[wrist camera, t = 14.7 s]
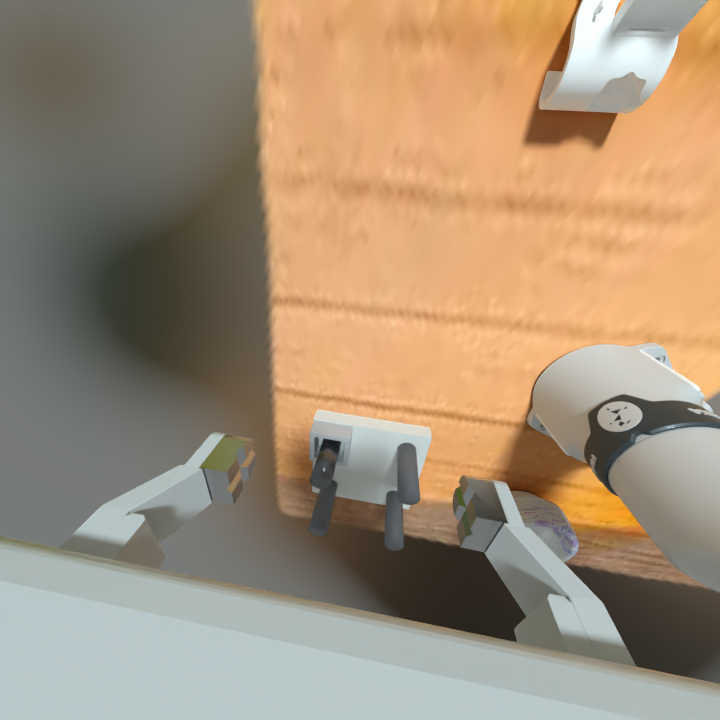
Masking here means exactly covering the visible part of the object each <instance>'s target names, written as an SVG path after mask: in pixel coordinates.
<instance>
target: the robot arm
mask: <svg viewBox="0 0 720 720" xmlns="http://www.w3.org/2000/svg"><path fill="white" fill-rule="evenodd" d="M703 399H705V396H704V394H703V393H702V392H701V391H700V388H699V387H698V386H697V385H696V384H694V383H693V382H691V381H690V380H688V379H686V378H685V377H683V376H682V375H680V374H679V373H677V372H676V371H674V370H673V367H672V365H671V362H670V360H669V358H668V355H667V353H666V350H665V349H664V348H663V347H662V346H660V345H659V344H657V343H645V344H639V345H634V346H621V345H612V344H601V345H593V346H588V347H584V348H581V349H578V350H575V351H573V352H570V353H568V354H566V355H564V356H563V357H561V358H559V359H558V360H556V361H555V362H554V363H552V364H551V365H550V366H549V367H548V368H547V369H546V370H545V371H544V372H543V373H542V374H541V376H540V377H539V379H538V380H537V382H536V384H535V387H534V390H533V406H532V409H531V411H530V413H529V415H528V417H527V423H528V424H529V425H530V426H531V427H532V428H534V429H536V430H538V431H539V432H541V433H543V434H545V435H547V436H549V437H551V438H553V439H554V440H555V442H556V443H557V444H558V446H559V447H560V448H561V449H562V451H563V452H564V453H565V454H566V455H567V456H572V457H574V458H575V459H577V460H579V461H582V462H584V463H587V464H588V465H589V466H590V468H591V469H592V470H593V473H594V474H595V476H596V477H597V478H598V479H599V481H600V482H602V483H603V484H604V485H605V486H606V488H607V489H608V490H609V491H610V492H612V493H613V494H614V495H616V496H618V497H619V498H620V499H621V500H622V502H623V503H624V504H625V506H626V507H627V508H628V509H629V511H630V512H631V513H632V515H633V516H634V517H635V518H636V520H637V521H638V522H639V524H640V525H641V526H642V527H643V529H644V530H645V531H646V533H647V534H648V535H649V536H650V538H651V539H652V540H653V541H654V543H655V544H656V545H657V547H658V548H659V549H660V550H661V552H662V553H663V554H664V556H665V557H666V558H667V559H668V560H669V561H670V562H671V563H672V564H673V565H674V566H675V567H677V568H678V569H679V570H681V571H682V572H683V573H685V574H686V575H688V576H689V577H691V578H693V579H694V580H696V581H698V582H700V583H701V584H703V585H705V586H707V587H709V588H711V589H713V590H715V591H717V592H720V417H719V416H718V415H715V414H713V410H712V409H711V407H710V406H709V405H708V404H707V403H706V402H704V401H703ZM253 447H254V443H253V440H252V439H248V438H243V437H238V436H233V435H228V434H223V433H217V432H214V433H213V434H211V435H210V436H209V437H208V438H207V439H206V441H205V442H204V443H203V444H202V445H201V447H200V448H199V449H198V450H197V451H196V452H195V453H194V455H193V456H192V457H191V458H190V460H189V461H188V462H187V463H186V464H185V465H179V466H178V467H175V468H173V469H172V470H170V471H168V472H166V473H164V474H162V475H160V476H158V477H156V478H154V479H153V480H150V481H148V482H147V483H145V484H143V485H141V486H139V487H137V488H135V489H133V490H131V491H129V492H127V493H125V494H123V495H121V496H119V497H118V498H116V499H114V500H112V501H110V502H108V503H106V504H104V505H102V506H101V507H100V508H99V509H98V510H97V511H96V512H95V513H94V514H93V515H92V516H91V517H90V518H89V519H88V520H87V521H86V522H85V523H84V524H83V525H82V526H81V527H80V528H79V529H78V530H77V531H76V532H75V533H74V534H73V535H72V536H71V537H69V538H68V539H67V541H66V542H64V543H63V544H62V545H61V546H60V547H59V548H55V547H50V546H45V545H41V544H36V543H31V542H26V541H21V540H16V539H11V538H6V537H1V536H0V720H720V684H717V683H712V682H706V681H702V680H697V679H692V678H687V677H682V676H678V675H673V674H668V673H663V672H658V671H653V670H649V669H644V668H639V667H636V665H635V663H634V662H633V660H632V658H631V656H630V654H629V652H628V650H627V648H626V646H625V644H624V643H623V641H622V639H621V637H620V635H619V633H618V631H617V629H616V627H615V626H614V624H613V622H612V620H611V618H610V616H609V614H608V612H607V610H606V608H605V606H604V605H603V603H602V602H601V601H600V600H599V599H598V598H597V597H596V596H595V595H594V594H593V592H592V591H591V590H590V589H589V588H588V587H587V586H586V585H585V584H584V583H583V582H582V581H581V580H580V579H579V578H578V577H577V576H576V575H575V574H574V573H573V572H572V571H571V570H570V569H569V568H568V567H567V566H566V565H565V564H564V563H563V562H562V561H561V560H560V559H559V558H558V557H557V556H556V555H555V554H554V552H553V551H552V550H551V549H550V548H549V547H548V546H547V545H546V544H545V543H544V542H543V541H542V540H541V539H540V538H539V537H538V536H537V535H536V534H535V533H534V532H533V531H532V530H531V529H530V528H528V527H525V526H524V523H523V521H522V518H521V516H520V513H519V511H518V509H517V506H516V504H515V501H514V499H513V497H512V494H511V492H510V489H509V487H508V485H507V484H506V483H505V482H502V481H496V480H490V479H485V478H479V477H473V476H466V475H463V476H462V477H461V478H460V481H459V483H460V487H458V488H456V490H455V492H454V495H453V510H454V515H455V517H456V518H457V519H458V520H459V524H458V526H457V532H458V537H459V542H460V547H462V548H467V549H471V550H476V551H481V552H485V555H486V556H487V558H488V559H489V561H490V562H491V564H492V565H493V567H494V568H495V570H496V571H497V573H498V574H499V576H500V578H501V579H502V581H503V582H504V584H505V585H506V587H507V588H508V589H509V591H510V592H511V594H512V595H513V597H514V598H515V600H516V602H517V603H518V605H519V606H520V608H521V609H522V611H523V612H524V613H525V615H526V617H525V619H523V620H522V621H521V622H520V623H519V624H518V625H517V626H516V628H515V630H514V631H515V635H516V639H517V642H513V641H508V640H502V639H498V638H492V637H488V636H483V635H479V634H473V633H468V632H464V631H459V630H454V629H449V628H444V627H440V626H435V625H430V624H425V623H420V622H415V621H410V620H405V619H401V618H396V617H391V616H386V615H381V614H377V613H372V612H367V611H362V610H357V609H352V608H347V607H342V606H338V605H333V604H327V603H323V602H318V601H313V600H309V599H304V598H299V597H294V596H289V595H284V594H279V593H274V592H269V591H265V590H260V589H255V588H249V587H245V586H240V585H236V584H230V583H226V582H221V581H216V580H211V579H206V578H201V577H196V576H192V575H187V574H182V573H177V572H172V571H167V570H162V569H159V568H160V566H161V565H162V563H163V561H164V560H165V555H164V553H163V551H162V549H161V547H160V545H159V543H160V542H161V541H163V540H164V539H166V538H167V537H168V536H169V535H171V534H172V533H173V532H175V531H176V530H177V529H178V528H180V527H181V526H182V525H184V524H185V523H186V522H187V521H189V520H190V519H191V518H193V517H194V516H195V515H196V514H198V513H199V512H200V511H202V510H203V509H204V508H205V507H207V506H208V505H209V504H211V502H212V501H214V502H221V503H226V504H233V505H234V504H235V502H236V500H237V499H238V497H239V495H240V493H241V492H242V490H243V484H242V482H244V481H245V480H247V479H248V478H249V477H250V475H251V473H252V472H253V469H254V466H255V461H256V456H255V453H254V452H253V451H252V448H253Z"/></svg>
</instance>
